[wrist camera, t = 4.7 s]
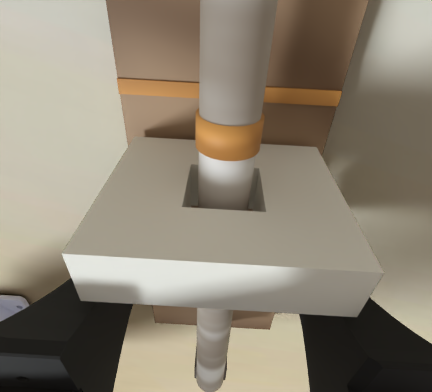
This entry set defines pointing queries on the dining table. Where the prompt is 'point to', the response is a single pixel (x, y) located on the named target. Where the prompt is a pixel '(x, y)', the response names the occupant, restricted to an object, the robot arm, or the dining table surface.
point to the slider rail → (230, 104)
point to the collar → (223, 237)
